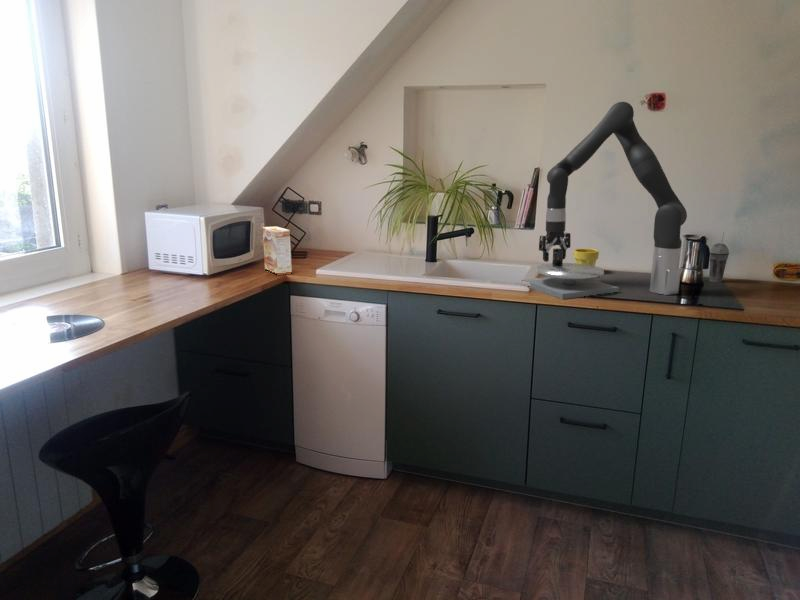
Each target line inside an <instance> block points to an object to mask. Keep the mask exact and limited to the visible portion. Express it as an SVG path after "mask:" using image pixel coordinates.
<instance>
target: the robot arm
mask: <svg viewBox="0 0 800 600" xmlns="http://www.w3.org/2000/svg"><path fill="white" fill-rule="evenodd" d="M634 116H635V111H634V108H633V106H632V104H630V102H627V101H618V102H616V103H613V105H612V106H611V107H610V108H609V110H608V111H607V112H606V114H605V115H604V116H603V118H602V119H601V121H599V122H598V123H597V125H596V126H595V127H594V128H593V129H592V131H591V132H589V134H588V135H586V136H585V137H584V138H583V139H582V140H580V142H579V143H578V144H577V145H576V146H575V147H573V149H572V150H570V152H569V153H568V154H567V155H566V156H565V157H564V158H563V159H561V160H559V162H557V163H556V164H555V165H554V166H553V167H552V168H551V169H550V170H548V171H547V174H546V180H547V182H548V184H549V193H548V195H547V198H546V199H547V200H546V201H547V202H546V213H545V214H546V215H545V232H546V234H545V235H543V234H542V235H539V241H538V251H540V252H542V260H543V262H549V257H550V255H549V254H550V250H551V249H552V247H555V246H558V247H559V248H560V249H563V260H565V259H566V257H567V250H568V249H570V248H571V233H570V232H566V221H567V218H566V217H567V213H566V206H567V197H566V196H567V190H568V187H569V177H570V175H572V174H573V173H574V172H575V171H578V170H579V169H580V168H582V167H583V166H584V165H586V163H587V162H588V161H589V160H590V159H591V158H592V157H593V156H594V155H595V153H596V152H598V150H599V149H600V148H601V146H602V145H603V144H604V143H605V142H606V141H607V139H609V137H611V136H612V135H613V134H614V136H615V137H616V139H617V140H618V142H619V143H620V145H621V147H622V149H623V151H624V154H625V158H627V161H628V163H629V165H630V169H631V170H632V172H633V174H634V175H635V178H636V179H637V180H638V182H639V183H640V184H641V186H642V187H643V188H644V189H645V190H646V191H647V192H648V193H649V195H651V197H652V198H653V200H654V202H655V204H656V206H657V208H658V209H657V210H656V212H655V216H654V223H653V241H654V244H653V245H654V246H653V253H652V263H651V266H652V267H651V274H650V282H649V283H650V284H649V286H650V287H649V292H650V293H653V294H660V295H666V296H668V295H677V294H679V291H680V289H679V288H680V282H681V281H680V280H681V272H682V268H680V260H681V253H682V252H681V251H682V244H683V243H682V239H681V227H682V226H683V225H684V224H685V222H686V221H687V218H688V214H687V213H688V212H687V210H686V207H685V206H684V204H683V203H682V201H681V200H680V199H679V197H678V196H677V195H676V193H675V191H674V190H673V188H672V186H671V183H670V181H669V180H668V177H667V175H666V173H665V171H664V169H663V168H662V165H661V163H660V161H659V159H658V157H657V155H656V153H655V152H654V151H653V149H652V148H651V146H650V145H648V144H647V142H646V141H645V140H644V138H643V137H642V136H641V135H640V133H639V131H638V128H637V126H636V124H635V121H634Z"/></svg>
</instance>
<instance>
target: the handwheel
mask: <svg viewBox="0 0 800 600" xmlns="http://www.w3.org/2000/svg"><path fill="white" fill-rule="evenodd" d="M563 261H564V259H563V249H561V248H560V247H559V248H556V247H555V248H553V249H552V259H551V262H549V263H543V264H539V265H537V266H536V270H535V271H536V273H537V274H539V275H541V276H544V277H552V278H560V279H576V280H582V279H591V280H594V279H598V278H603V276H604V275H605V271H604V269H603V268H602V267H599V266H596V265H595V266H591V265H585V264H576V262H575V263H574V262H563Z"/></svg>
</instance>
